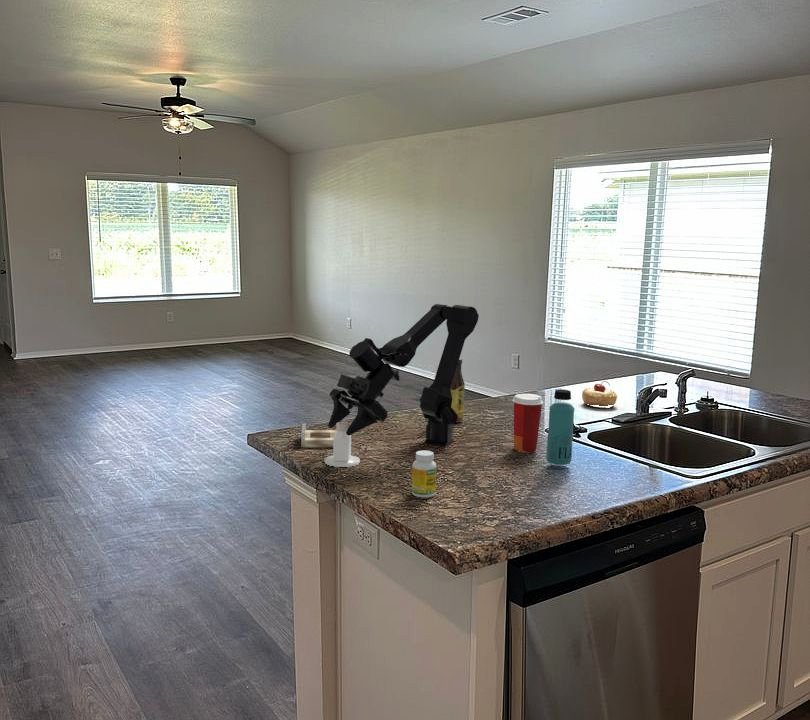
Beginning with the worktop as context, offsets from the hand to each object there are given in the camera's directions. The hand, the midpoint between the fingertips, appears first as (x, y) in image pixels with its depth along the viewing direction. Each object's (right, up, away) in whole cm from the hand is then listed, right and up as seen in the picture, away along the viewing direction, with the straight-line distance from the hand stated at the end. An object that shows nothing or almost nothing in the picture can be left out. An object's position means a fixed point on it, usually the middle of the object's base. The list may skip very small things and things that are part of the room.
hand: (338, 430), depth 183 cm
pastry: (+85, +1, +74) cm, 113 cm away
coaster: (+1, -8, +2) cm, 8 cm away
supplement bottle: (+21, -13, -19) cm, 31 cm away
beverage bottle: (+56, -10, +4) cm, 57 cm away
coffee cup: (+50, -7, +18) cm, 53 cm away
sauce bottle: (+32, -2, +47) cm, 56 cm away
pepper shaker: (+1, -8, +2) cm, 8 cm away
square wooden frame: (-7, -5, +19) cm, 21 cm away
